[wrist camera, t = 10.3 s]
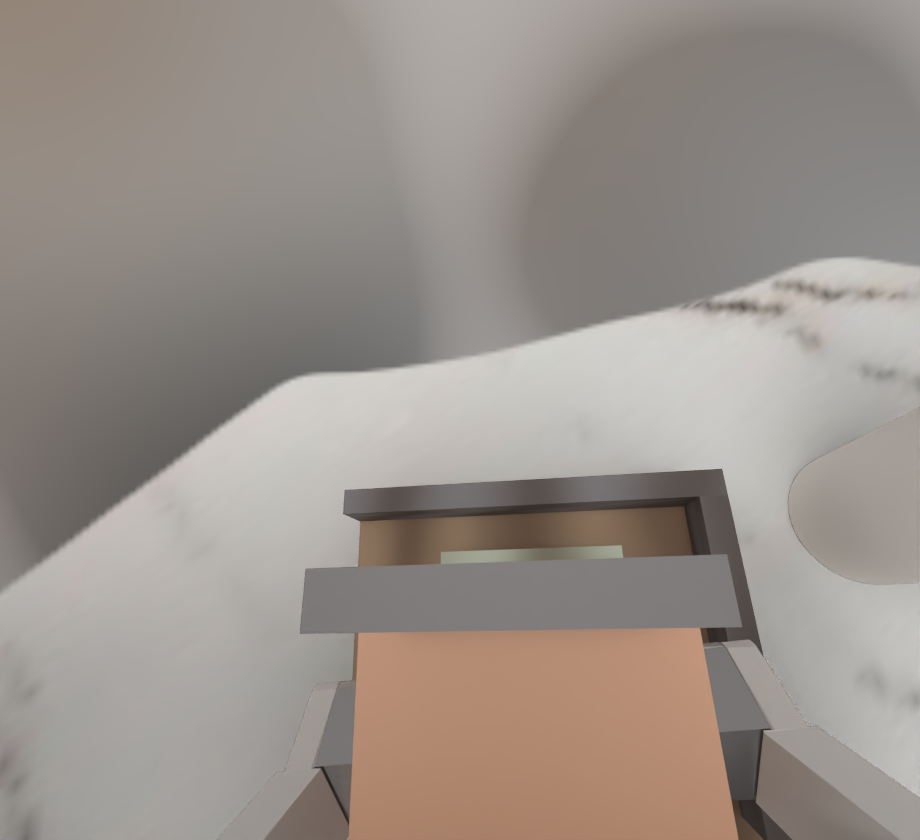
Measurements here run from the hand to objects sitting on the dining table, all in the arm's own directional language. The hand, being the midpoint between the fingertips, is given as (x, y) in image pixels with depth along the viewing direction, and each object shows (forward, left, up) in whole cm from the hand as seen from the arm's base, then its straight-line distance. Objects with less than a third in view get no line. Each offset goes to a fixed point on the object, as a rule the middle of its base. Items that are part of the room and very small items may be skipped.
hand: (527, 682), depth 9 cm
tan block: (0, -1, -6) cm, 6 cm away
